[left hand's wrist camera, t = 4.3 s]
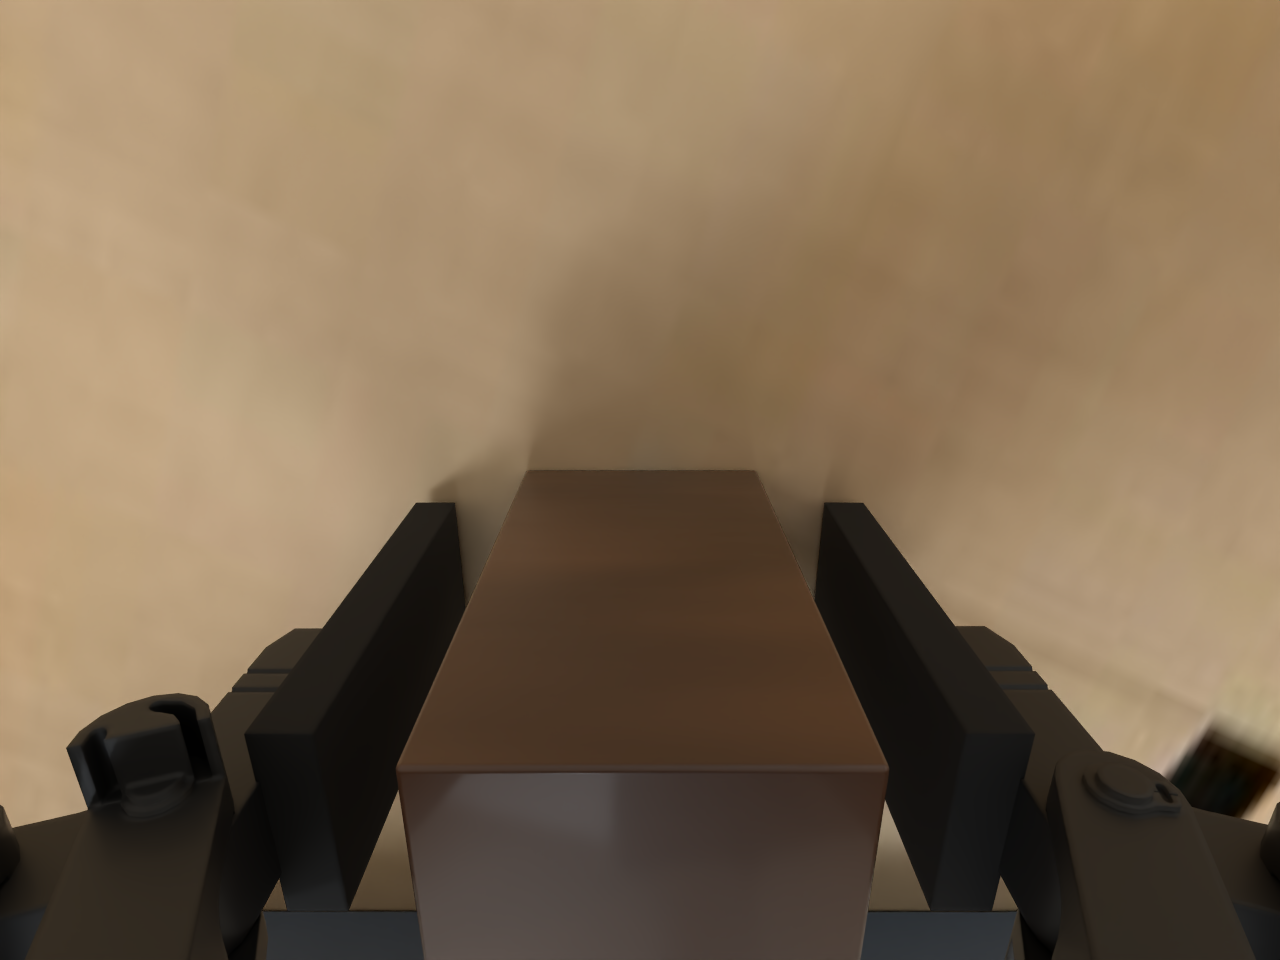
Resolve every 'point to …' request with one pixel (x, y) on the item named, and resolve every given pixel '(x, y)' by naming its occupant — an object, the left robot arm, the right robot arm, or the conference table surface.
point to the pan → (393, 956)
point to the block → (642, 739)
